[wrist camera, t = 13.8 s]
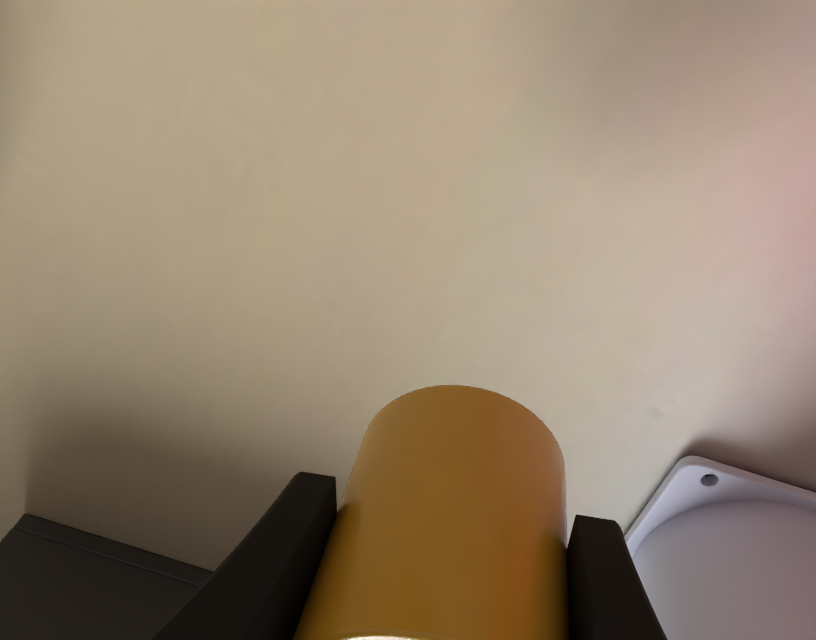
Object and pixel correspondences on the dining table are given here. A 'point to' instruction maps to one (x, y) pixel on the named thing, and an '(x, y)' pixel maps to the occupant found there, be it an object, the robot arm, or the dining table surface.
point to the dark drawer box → (85, 585)
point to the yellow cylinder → (447, 527)
